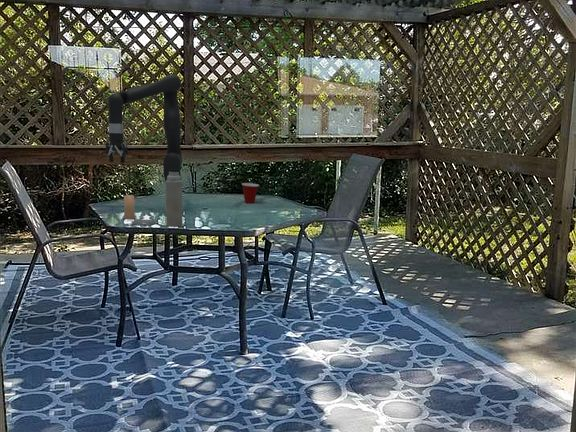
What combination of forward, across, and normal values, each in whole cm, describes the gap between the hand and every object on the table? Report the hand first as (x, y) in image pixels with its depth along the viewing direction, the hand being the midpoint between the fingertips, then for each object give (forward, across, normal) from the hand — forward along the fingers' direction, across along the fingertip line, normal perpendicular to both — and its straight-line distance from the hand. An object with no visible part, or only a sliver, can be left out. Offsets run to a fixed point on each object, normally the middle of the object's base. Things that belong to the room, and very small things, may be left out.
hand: (116, 162), depth 329 cm
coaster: (+28, +27, -8) cm, 40 cm away
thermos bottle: (+29, +43, -2) cm, 52 cm away
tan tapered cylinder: (+28, +12, -4) cm, 31 cm away
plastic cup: (+28, +30, +79) cm, 90 cm away
